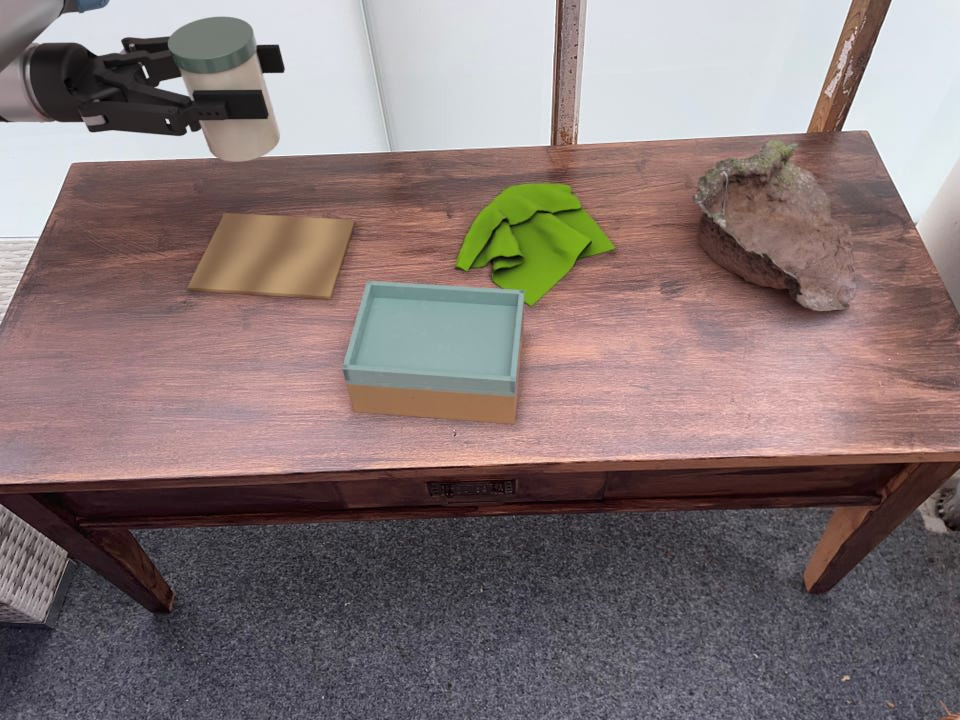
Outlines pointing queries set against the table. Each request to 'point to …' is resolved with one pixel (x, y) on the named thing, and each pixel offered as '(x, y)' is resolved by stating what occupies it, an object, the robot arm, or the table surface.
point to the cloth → (532, 238)
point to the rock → (776, 228)
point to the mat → (274, 256)
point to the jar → (225, 82)
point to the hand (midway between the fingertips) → (272, 80)
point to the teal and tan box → (436, 352)
